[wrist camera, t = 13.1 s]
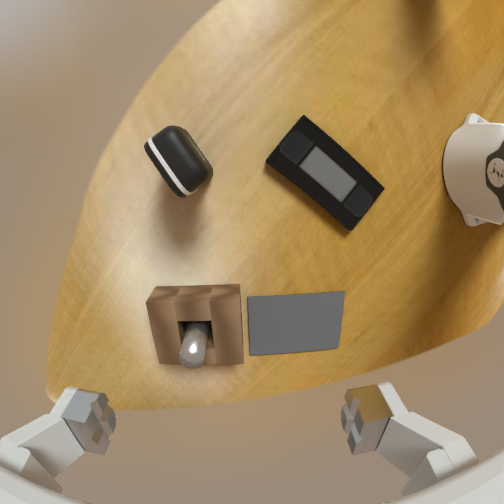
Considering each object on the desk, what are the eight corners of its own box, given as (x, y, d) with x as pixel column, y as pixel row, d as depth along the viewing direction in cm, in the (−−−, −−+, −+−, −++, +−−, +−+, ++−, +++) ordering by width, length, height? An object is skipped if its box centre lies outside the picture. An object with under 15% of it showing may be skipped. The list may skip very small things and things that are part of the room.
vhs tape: (346, 228, 40) (351, 231, 38) (264, 160, 37) (266, 160, 35) (378, 187, 38) (384, 188, 36) (300, 117, 35) (303, 114, 33)
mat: (343, 291, 42) (344, 292, 42) (337, 346, 45) (338, 348, 45) (247, 296, 42) (247, 298, 41) (250, 353, 45) (250, 355, 44)
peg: (210, 307, 42) (202, 348, 32) (212, 325, 43) (205, 368, 33) (189, 308, 42) (176, 348, 32) (192, 325, 43) (180, 368, 33)
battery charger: (222, 173, 36) (213, 178, 26) (197, 190, 37) (179, 202, 26) (191, 128, 35) (170, 116, 24) (167, 146, 35) (137, 141, 24)
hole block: (239, 284, 41) (239, 300, 36) (243, 343, 44) (243, 363, 39) (155, 286, 41) (145, 302, 36) (166, 344, 44) (159, 363, 39)
